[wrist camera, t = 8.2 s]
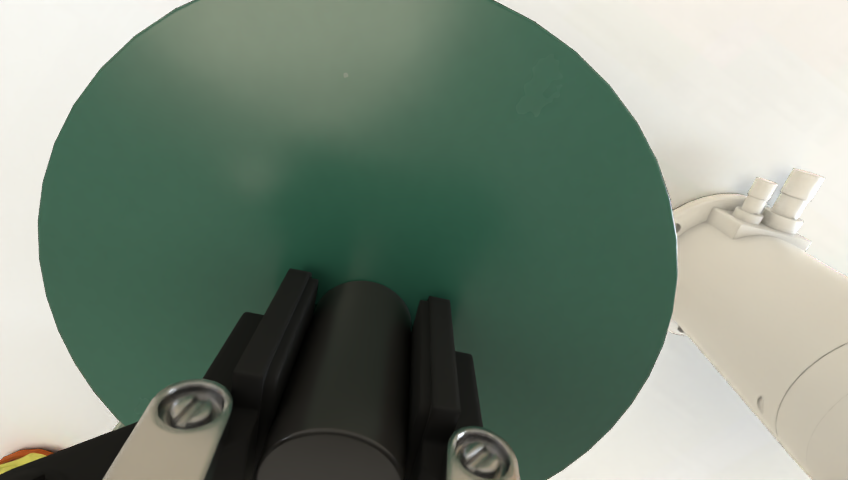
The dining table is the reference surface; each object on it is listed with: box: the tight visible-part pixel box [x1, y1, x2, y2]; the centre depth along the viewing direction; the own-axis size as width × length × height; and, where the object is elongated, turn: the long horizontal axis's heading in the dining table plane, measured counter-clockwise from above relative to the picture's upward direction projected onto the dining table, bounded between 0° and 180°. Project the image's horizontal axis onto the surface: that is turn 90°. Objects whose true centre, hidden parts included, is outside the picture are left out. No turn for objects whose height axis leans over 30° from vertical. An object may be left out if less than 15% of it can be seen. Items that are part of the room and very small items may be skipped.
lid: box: [38, 0, 678, 480], centre depth 11 cm, size 17×17×6 cm
